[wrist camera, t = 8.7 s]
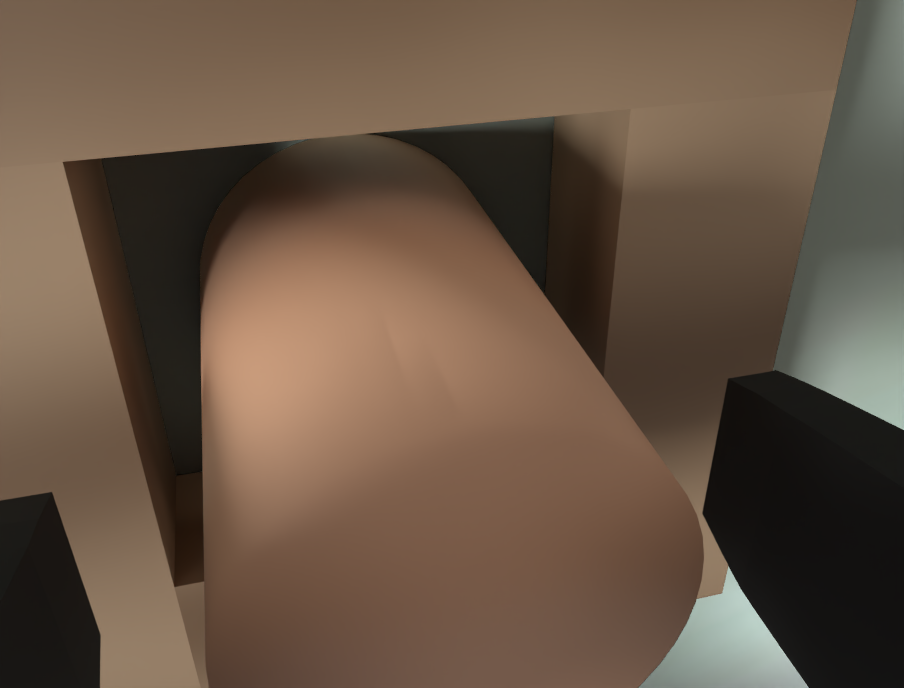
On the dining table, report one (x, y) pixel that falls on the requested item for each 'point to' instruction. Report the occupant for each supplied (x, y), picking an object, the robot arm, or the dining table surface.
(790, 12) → the keyhole board
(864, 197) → the dining table surface
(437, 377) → the terracotta peg
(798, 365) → the dining table surface
